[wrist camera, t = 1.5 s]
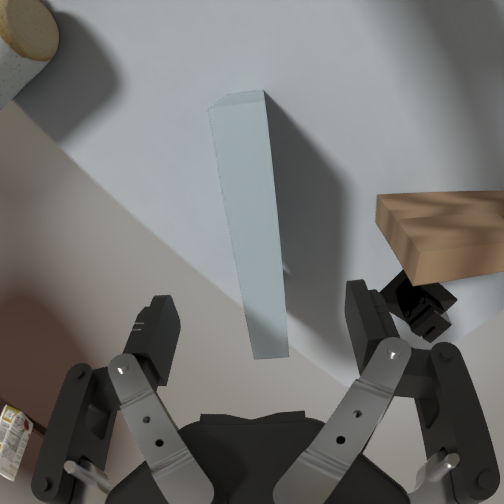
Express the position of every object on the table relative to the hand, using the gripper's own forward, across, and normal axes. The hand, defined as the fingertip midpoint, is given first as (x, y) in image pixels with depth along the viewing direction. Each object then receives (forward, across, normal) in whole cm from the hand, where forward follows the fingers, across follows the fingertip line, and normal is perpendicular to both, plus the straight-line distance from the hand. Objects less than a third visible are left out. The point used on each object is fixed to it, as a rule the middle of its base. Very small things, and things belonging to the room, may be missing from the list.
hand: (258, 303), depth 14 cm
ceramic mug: (+11, +17, -18) cm, 27 cm away
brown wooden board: (+11, -20, +1) cm, 23 cm away
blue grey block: (+11, 0, 0) cm, 11 cm away
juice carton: (+12, +66, +47) cm, 82 cm away
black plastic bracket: (+12, -15, +12) cm, 22 cm away
